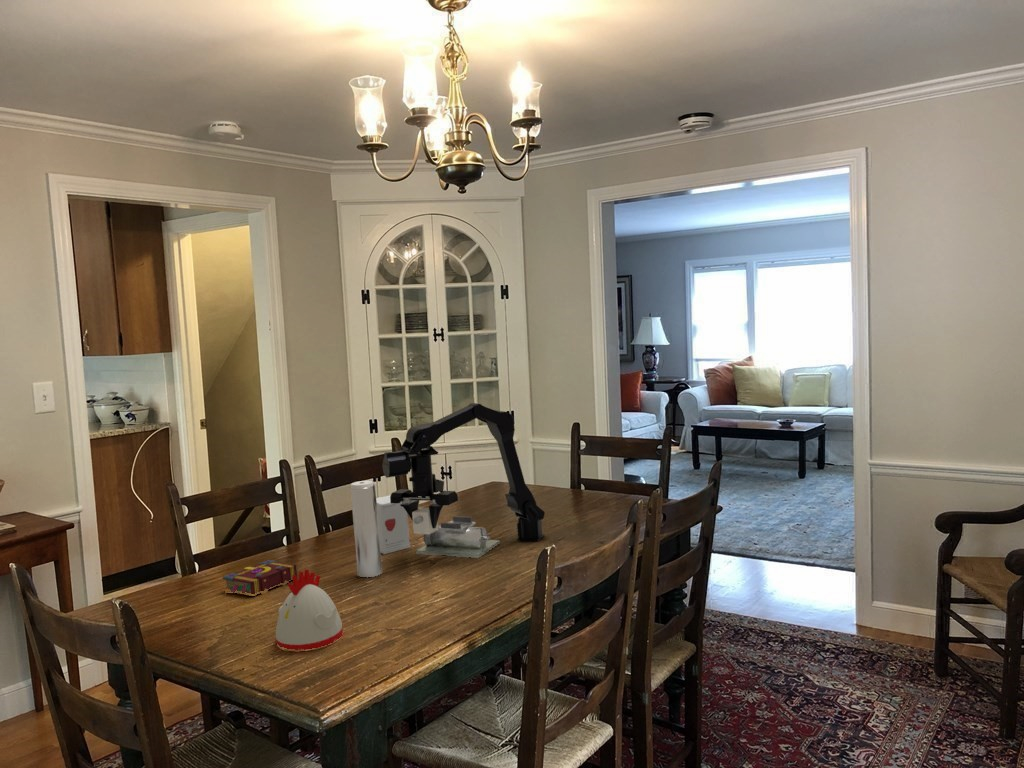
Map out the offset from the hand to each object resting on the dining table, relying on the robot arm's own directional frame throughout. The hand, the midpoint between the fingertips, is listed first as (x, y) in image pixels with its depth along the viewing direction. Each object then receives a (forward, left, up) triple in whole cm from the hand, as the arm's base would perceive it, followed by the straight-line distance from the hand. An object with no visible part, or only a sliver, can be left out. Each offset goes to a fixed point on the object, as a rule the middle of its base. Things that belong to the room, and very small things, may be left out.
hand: (425, 527), depth 216 cm
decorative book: (+34, +29, -10) cm, 46 cm away
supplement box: (+18, -8, -10) cm, 22 cm away
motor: (-3, -12, -9) cm, 16 cm away
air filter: (+10, +14, -10) cm, 20 cm away
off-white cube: (0, 0, -1) cm, 1 cm away
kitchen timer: (-2, +54, -10) cm, 55 cm away
